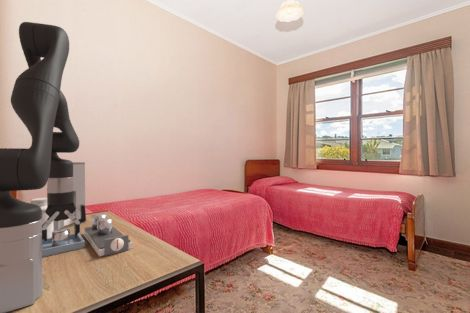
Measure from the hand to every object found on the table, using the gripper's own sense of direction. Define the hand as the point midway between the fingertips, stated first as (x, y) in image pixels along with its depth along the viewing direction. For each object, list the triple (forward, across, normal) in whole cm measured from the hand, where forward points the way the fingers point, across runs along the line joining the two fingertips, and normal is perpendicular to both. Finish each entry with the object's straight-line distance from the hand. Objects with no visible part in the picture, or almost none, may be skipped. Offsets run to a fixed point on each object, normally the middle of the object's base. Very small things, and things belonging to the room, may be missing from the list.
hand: (61, 237), depth 82 cm
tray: (+3, 0, 0) cm, 3 cm away
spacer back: (+1, +13, +7) cm, 15 cm away
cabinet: (+4, +7, +30) cm, 31 cm away
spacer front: (+3, 0, 0) cm, 3 cm away
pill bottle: (+4, -5, +16) cm, 17 cm away
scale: (+3, +13, -3) cm, 14 cm away
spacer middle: (+1, +13, -2) cm, 13 cm away
